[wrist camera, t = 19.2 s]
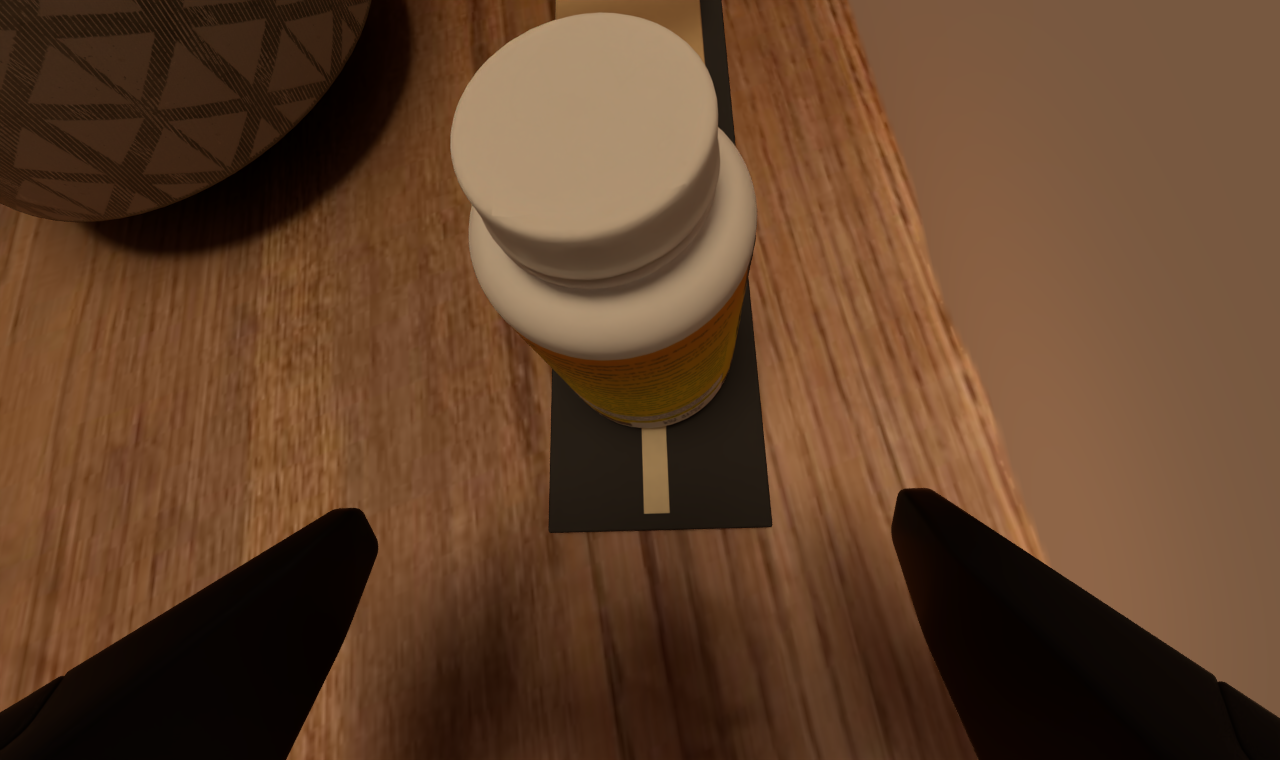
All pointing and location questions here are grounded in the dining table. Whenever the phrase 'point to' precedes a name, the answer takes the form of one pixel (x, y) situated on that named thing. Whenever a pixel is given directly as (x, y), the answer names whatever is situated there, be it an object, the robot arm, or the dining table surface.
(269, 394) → the dining table surface
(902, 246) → the dining table surface
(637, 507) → the line mat
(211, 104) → the planter
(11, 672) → the dining table surface
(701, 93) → the supplement bottle
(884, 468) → the dining table surface
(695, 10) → the maple block
